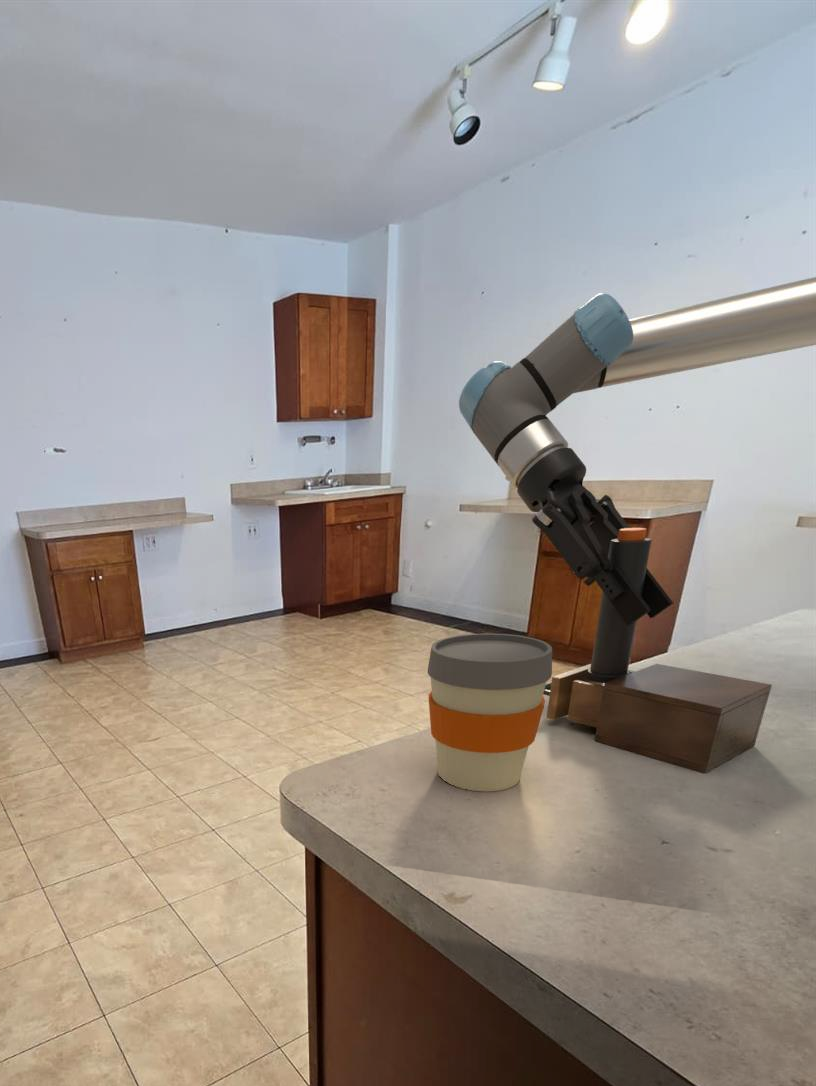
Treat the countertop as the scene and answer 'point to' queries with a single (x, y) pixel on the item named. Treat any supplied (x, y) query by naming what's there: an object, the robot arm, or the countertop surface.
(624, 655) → the spray can
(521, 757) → the reusable coffee cup
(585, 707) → the drawer
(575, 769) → the countertop surface
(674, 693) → the cabinet
